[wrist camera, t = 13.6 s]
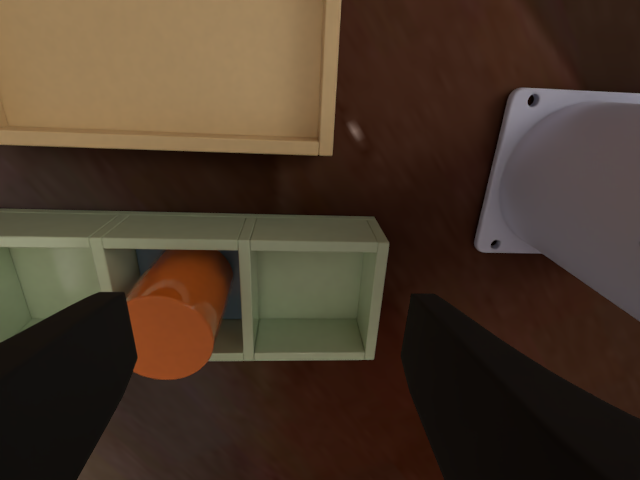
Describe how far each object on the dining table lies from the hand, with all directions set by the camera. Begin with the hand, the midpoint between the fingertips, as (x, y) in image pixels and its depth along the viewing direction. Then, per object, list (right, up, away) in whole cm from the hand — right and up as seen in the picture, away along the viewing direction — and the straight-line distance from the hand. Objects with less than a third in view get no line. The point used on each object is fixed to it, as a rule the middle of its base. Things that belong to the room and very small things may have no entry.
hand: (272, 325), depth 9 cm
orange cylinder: (-5, 0, +9) cm, 10 cm away
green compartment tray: (-5, +1, +10) cm, 11 cm away
